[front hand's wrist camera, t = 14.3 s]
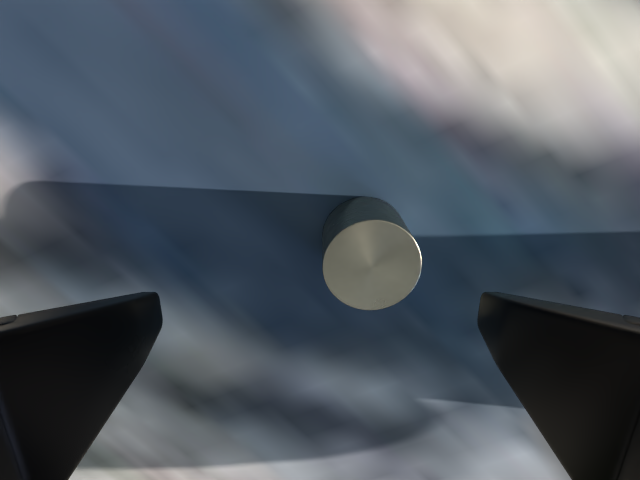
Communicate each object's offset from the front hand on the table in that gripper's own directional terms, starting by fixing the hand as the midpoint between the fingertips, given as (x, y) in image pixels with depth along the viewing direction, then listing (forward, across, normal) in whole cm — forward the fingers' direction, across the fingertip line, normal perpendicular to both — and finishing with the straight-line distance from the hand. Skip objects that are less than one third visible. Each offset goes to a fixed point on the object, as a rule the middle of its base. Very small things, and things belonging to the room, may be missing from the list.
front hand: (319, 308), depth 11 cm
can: (+12, +2, -2) cm, 13 cm away
